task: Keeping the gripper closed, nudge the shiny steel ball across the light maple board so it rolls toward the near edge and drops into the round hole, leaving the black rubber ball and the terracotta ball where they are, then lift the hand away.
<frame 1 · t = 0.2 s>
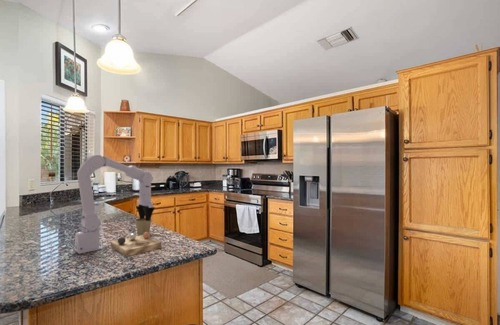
hand: (145, 219, 137), 10 cm above the counter, tool pointing down, fingers open, 7 cm apart
black rubber ball: (121, 240, 119), point 4 cm above the counter, touching board
board: (135, 247, 122), on the counter
flower pot: (143, 234, 145), on the counter
terracotta ball: (146, 235, 128), point 4 cm above the counter, touching board
steel ball: (132, 236, 125), point 4 cm above the counter, touching board
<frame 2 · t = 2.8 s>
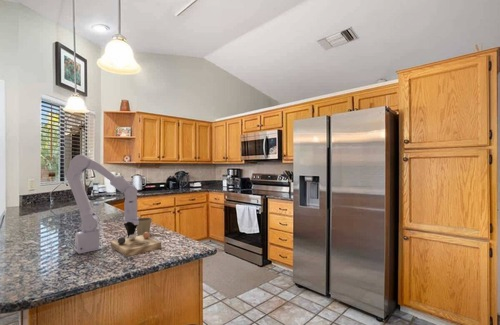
hand: (130, 237, 127), 3 cm above the counter, tool pointing down, fingers closed, pressing on steel ball
steel ball: (132, 236, 125), point 4 cm above the counter, touching board, gripper
everything else where it was.
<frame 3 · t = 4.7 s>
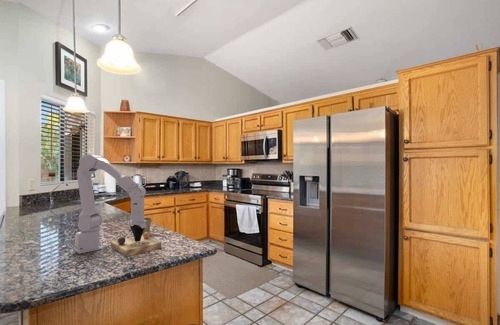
hand: (137, 240, 121), 3 cm above the counter, tool pointing down, fingers closed
steel ball: (138, 246, 119), point 2 cm above the counter, tilted 67°
everything else where it was.
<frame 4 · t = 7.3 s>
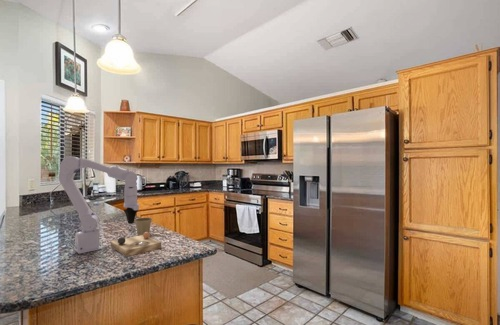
hand: (130, 223, 127), 10 cm above the counter, tool pointing down, fingers closed
steel ball: (141, 245, 119), point 2 cm above the counter, tilted 47°
everything else where it was.
at the end: steel ball 0.7 cm from the target spot in the board, point 1.6 cm above the board's base; steel ball point 1.6 cm above the counter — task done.
